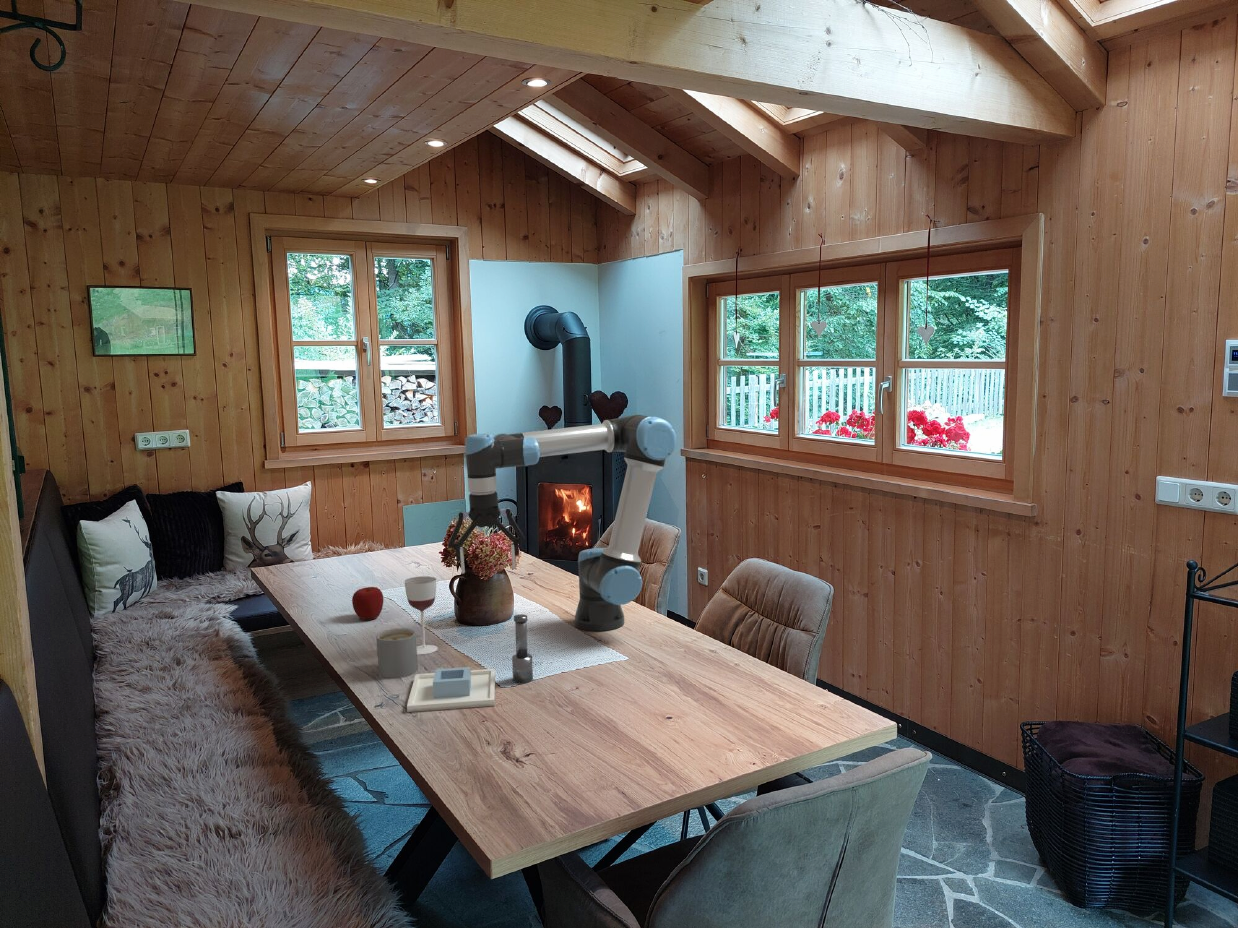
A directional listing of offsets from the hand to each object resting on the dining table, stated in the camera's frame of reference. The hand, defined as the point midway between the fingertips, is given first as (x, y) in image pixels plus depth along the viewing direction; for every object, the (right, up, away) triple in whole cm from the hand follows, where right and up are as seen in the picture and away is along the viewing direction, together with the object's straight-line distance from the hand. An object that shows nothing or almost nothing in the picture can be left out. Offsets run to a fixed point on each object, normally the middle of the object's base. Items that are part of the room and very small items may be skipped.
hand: (488, 569), depth 231 cm
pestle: (+11, -26, -14) cm, 32 cm away
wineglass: (-20, -24, +10) cm, 32 cm away
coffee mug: (-24, -26, -5) cm, 35 cm away
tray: (-5, -27, -21) cm, 35 cm away
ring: (-5, -27, -22) cm, 35 cm away
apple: (-44, -20, +40) cm, 63 cm away
